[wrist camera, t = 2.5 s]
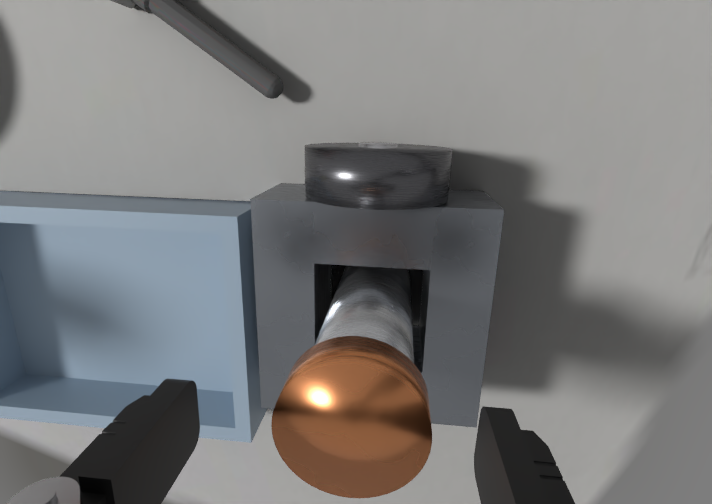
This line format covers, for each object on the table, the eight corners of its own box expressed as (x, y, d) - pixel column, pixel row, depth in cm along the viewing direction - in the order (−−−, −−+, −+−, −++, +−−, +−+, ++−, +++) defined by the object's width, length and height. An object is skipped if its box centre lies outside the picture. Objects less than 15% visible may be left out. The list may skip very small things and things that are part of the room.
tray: (262, 201, 22) (237, 216, 19) (271, 400, 25) (251, 442, 22) (-21, 189, 23) (-91, 201, 20) (25, 378, 27) (-29, 414, 24)
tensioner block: (488, 142, 20) (523, 152, 14) (463, 371, 24) (482, 451, 18) (279, 137, 21) (232, 143, 15) (286, 357, 24) (250, 429, 19)
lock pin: (420, 243, 22) (438, 371, 11) (415, 322, 23) (426, 505, 12) (335, 239, 22) (268, 357, 11) (334, 316, 23) (274, 489, 12)
